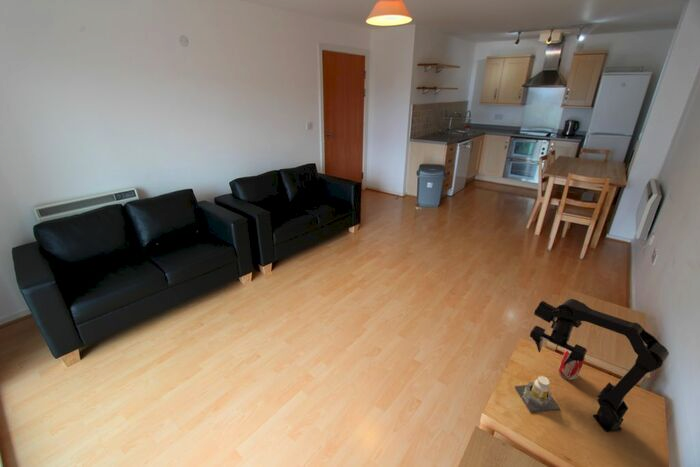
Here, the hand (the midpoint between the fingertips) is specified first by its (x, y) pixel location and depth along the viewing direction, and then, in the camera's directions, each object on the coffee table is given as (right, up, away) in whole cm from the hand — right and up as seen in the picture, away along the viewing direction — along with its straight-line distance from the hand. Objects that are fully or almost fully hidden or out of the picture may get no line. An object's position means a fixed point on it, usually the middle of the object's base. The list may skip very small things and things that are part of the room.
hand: (551, 357), depth 133 cm
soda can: (+12, -10, +9) cm, 18 cm away
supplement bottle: (-7, -15, -2) cm, 17 cm away
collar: (-7, -16, -2) cm, 17 cm away
